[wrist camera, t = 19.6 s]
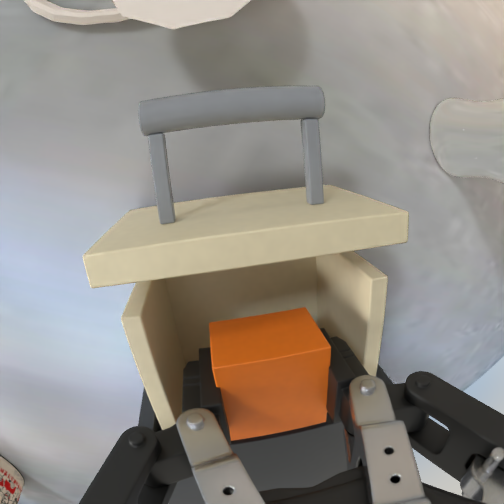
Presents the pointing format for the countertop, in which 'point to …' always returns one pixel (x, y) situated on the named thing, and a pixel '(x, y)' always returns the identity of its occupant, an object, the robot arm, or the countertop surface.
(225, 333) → the orange matte cube
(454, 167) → the chrome metal cylinder
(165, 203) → the drawer
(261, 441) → the dark grey cabinet box
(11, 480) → the teacup with lid
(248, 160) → the countertop surface
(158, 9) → the hand towel holder
